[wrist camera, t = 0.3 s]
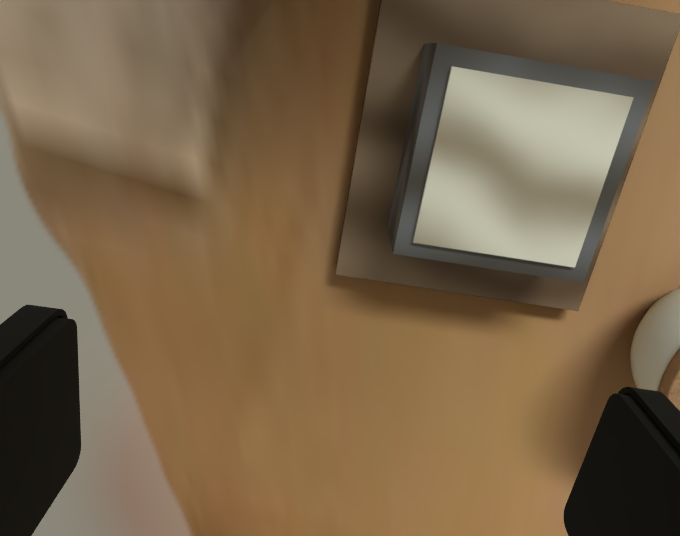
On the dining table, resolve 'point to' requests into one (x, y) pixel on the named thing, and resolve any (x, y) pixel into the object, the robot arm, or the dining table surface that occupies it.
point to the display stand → (499, 142)
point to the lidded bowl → (659, 348)
